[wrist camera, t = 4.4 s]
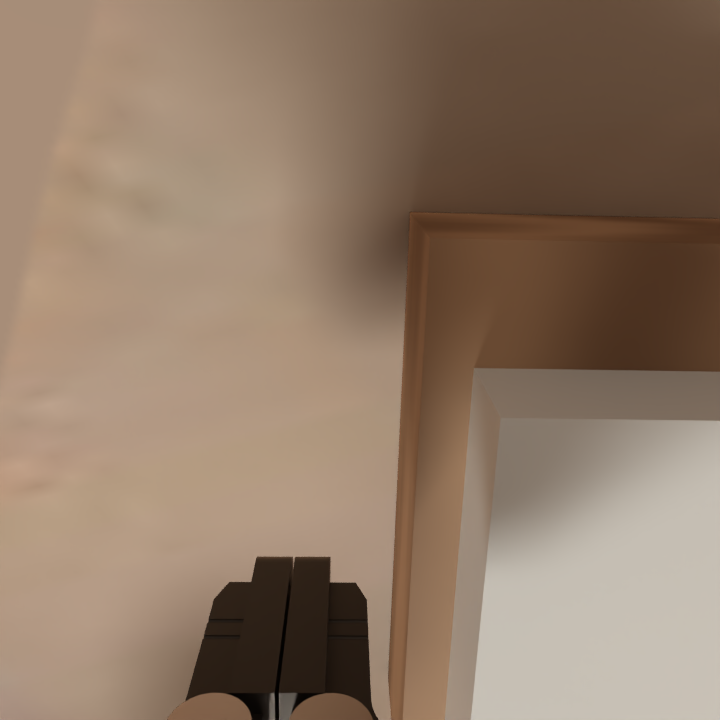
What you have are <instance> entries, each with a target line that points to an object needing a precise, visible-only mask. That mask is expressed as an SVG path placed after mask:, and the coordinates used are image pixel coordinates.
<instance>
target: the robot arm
mask: <svg viewBox="0 0 720 720" xmlns="http://www.w3.org/2000/svg"><path fill="white" fill-rule="evenodd" d="M167 720H378V718H377V717H376V715H375V713H374V711H373V708H372V703H371V689H370V666H369V642H368V619H367V600H366V598H365V597H364V595H363V593H362V592H361V590H360V589H359V587H358V586H357V584H356V583H330V557H295V562H294V570H293V557H257V558H256V562H255V567H254V572H253V577H252V581H251V582H229V583H228V584H227V585H226V587H225V588H224V589H223V590H222V591H221V592H220V593H219V594H218V596H217V597H216V598H215V599H214V602H213V605H212V609H211V612H210V616H209V622H208V623H207V627H206V630H205V634H204V639H203V641H202V644H201V648H200V652H199V655H198V659H197V662H196V666H195V669H194V673H193V676H192V680H191V684H190V687H189V691H188V694H187V698H186V701H185V702H183V703H182V704H181V705H179V706H178V707H177V708H176V709H175V710H174V711H173V712H172V713H171V714H170V716H169V717H168V718H167Z"/></svg>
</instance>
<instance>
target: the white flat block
mask: <svg viewBox="0 0 720 720" xmlns="http://www.w3.org/2000/svg"><path fill="white" fill-rule="evenodd" d="M445 720H720V372H706V371H639V370H573V369H506V368H474V373H473V385H472V397H471V409H470V421H469V433H468V445H467V457H466V469H465V481H464V493H463V505H462V517H461V529H460V541H459V553H458V566H457V578H456V590H455V602H454V614H453V626H452V638H451V650H450V662H449V674H448V686H447V698H446V710H445Z"/></svg>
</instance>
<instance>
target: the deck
mask: <svg viewBox="0 0 720 720" xmlns="http://www.w3.org/2000/svg"><path fill="white" fill-rule="evenodd" d="M474 368H506V369H573V370H639V371H706V372H720V219H706V218H660V217H613V216H567V215H520V214H474V213H427V212H410V223H409V245H408V266H407V287H406V309H405V330H404V352H403V373H402V394H401V416H400V437H399V458H398V480H397V501H396V523H395V544H394V565H393V587H392V608H391V629H390V651H389V672H388V682H389V694H390V707H391V720H445V710H446V698H447V686H448V674H449V662H450V650H451V638H452V626H453V614H454V602H455V590H456V578H457V566H458V553H459V541H460V529H461V517H462V505H463V493H464V481H465V469H466V457H467V445H468V433H469V421H470V409H471V397H472V385H473V373H474Z"/></svg>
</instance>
